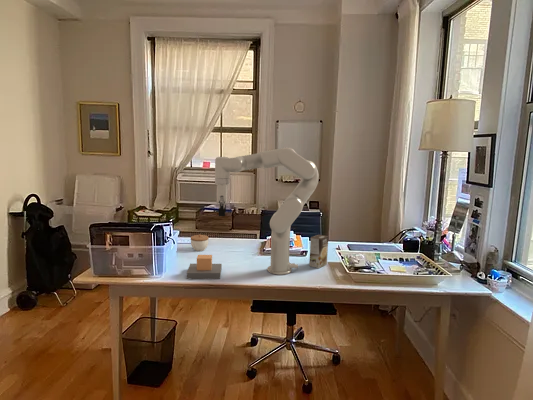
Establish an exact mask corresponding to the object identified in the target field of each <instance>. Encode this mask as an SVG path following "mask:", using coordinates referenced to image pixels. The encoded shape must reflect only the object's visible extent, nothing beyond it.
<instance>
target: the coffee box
mask: <svg viewBox="0 0 533 400" xmlns="http://www.w3.org/2000/svg"><path fill="white" fill-rule="evenodd" d="M328 247H329V235H323V234H317V235H313V236H311V237H310V247H309V267H311V268H314V269H315V268H317V269H320V268H322V267H325V266H327V264H328V252H329V251H328V250H329V248H328Z"/></svg>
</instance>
